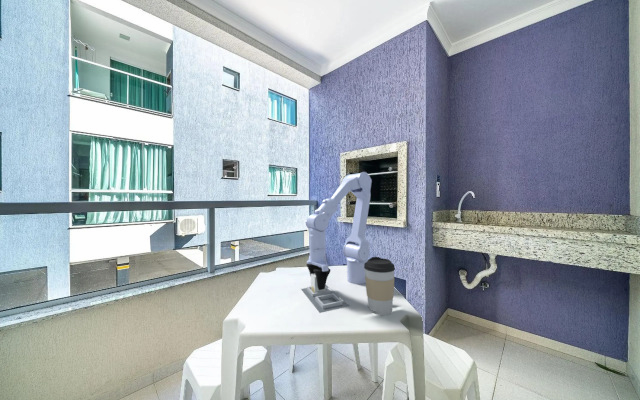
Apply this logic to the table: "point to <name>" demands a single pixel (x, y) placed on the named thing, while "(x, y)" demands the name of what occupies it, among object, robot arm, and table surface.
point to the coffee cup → (379, 285)
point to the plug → (315, 284)
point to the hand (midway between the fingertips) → (318, 286)
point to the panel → (325, 299)
